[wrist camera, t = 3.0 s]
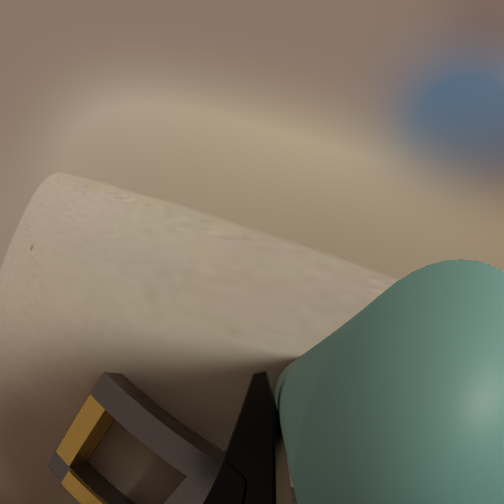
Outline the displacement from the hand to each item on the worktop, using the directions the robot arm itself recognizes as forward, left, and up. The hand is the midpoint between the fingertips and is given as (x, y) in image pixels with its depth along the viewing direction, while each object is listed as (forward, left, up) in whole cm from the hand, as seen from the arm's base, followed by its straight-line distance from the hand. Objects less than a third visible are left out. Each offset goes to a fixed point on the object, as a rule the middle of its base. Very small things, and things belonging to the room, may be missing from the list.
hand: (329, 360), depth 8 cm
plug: (-1, -1, -7) cm, 7 cm away
